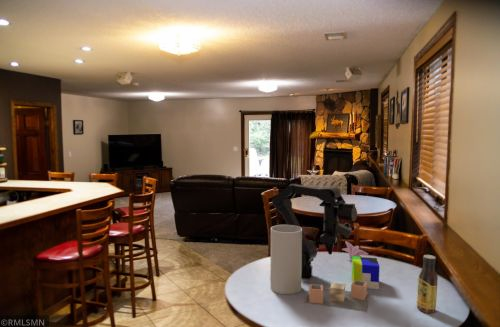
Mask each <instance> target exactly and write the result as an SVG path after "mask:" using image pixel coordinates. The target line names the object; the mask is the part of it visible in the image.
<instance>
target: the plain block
mask: <svg viewBox="0 0 500 327" xmlns="http://www.w3.org/2000/svg"><path fill="white" fill-rule="evenodd" d="M329 289H330V300H331V301H338V302H344V299H345V291H346V284H345V283H340V282H339V283H338V282H331V284H330V288H329Z"/></svg>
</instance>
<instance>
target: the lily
mask: <svg viewBox="0 0 500 327" xmlns="http://www.w3.org/2000/svg"><path fill="white" fill-rule="evenodd" d="M344 242H345V245H346V247H345V248H341V250H342V251H345V252H347V253H348V254H349V258H350V261H349V262H350V264H352V257H362V256H367V255H369V252H366V251H364V250H362V249H360V246H359V245H355V246H353V245H352V243H350V242H349V241H344Z"/></svg>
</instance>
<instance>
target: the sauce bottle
mask: <svg viewBox="0 0 500 327" xmlns="http://www.w3.org/2000/svg"><path fill="white" fill-rule="evenodd" d="M422 260H423V263H422V264H423V265H422V268H421V271H420V272H419V275H418V281H417V296H416V307H417V309H418V310H419V311H421V312H422V313H426V314H433V313H435V312H436V308H437V299H438V298H437V297H438V296H437V295H438V278H439V277H438V274H437V272H436V261H437V257H436V256H434V255H431V254H424V255H423V256H422Z"/></svg>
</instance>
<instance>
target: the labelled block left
mask: <svg viewBox="0 0 500 327" xmlns="http://www.w3.org/2000/svg"><path fill="white" fill-rule="evenodd" d="M323 288H324V285H323V284H311V283H310V284H309V290H308V291H309V292H308V295H309V303H308V304H310V303H323Z"/></svg>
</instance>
